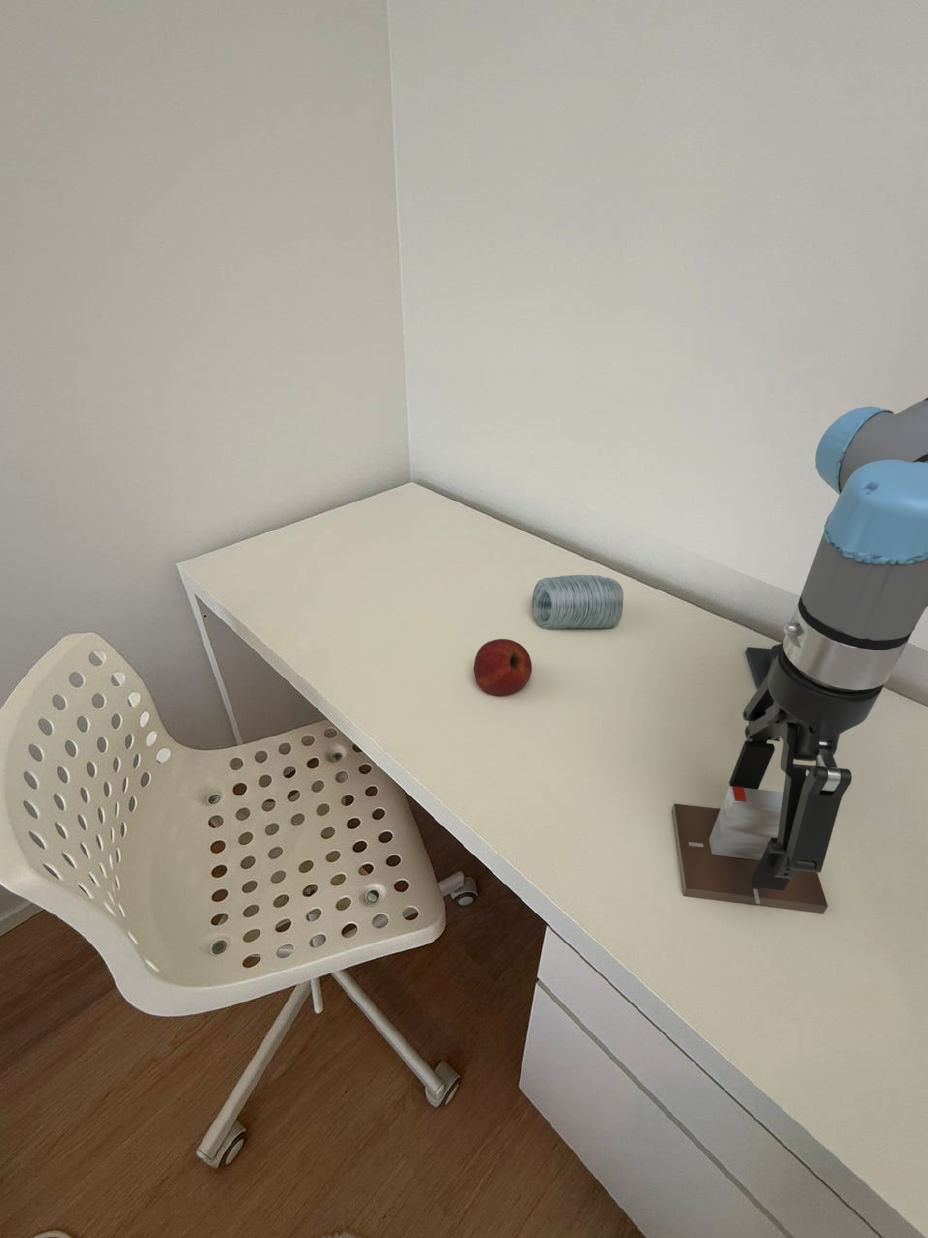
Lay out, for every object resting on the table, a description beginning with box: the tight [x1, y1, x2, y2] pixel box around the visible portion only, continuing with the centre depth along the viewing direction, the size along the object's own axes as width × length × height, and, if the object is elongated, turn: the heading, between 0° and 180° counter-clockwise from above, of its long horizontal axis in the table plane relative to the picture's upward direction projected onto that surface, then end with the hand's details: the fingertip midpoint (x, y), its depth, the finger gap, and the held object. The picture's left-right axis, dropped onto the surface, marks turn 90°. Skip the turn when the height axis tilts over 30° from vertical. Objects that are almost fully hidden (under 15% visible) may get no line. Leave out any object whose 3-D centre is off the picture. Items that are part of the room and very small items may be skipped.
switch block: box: [745, 642, 783, 691], centre depth 88 cm, size 10×8×4 cm
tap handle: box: [709, 786, 783, 860], centre depth 63 cm, size 7×2×9 cm, turn 82°
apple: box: [473, 638, 533, 697], centre depth 86 cm, size 7×8×8 cm
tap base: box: [671, 803, 829, 915], centre depth 66 cm, size 13×11×3 cm
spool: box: [531, 574, 624, 630], centre depth 97 cm, size 14×10×10 cm
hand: (754, 832), depth 63 cm, fingers open, 10 cm apart
